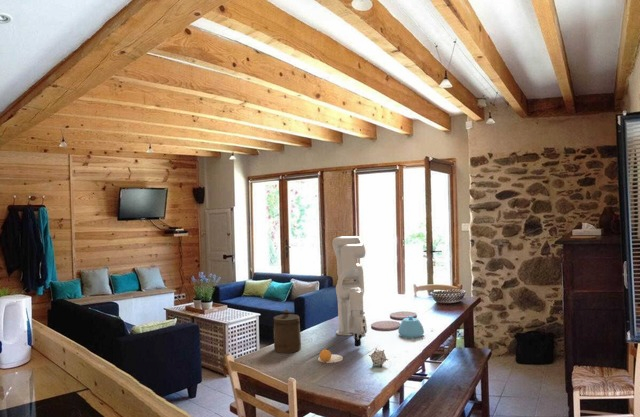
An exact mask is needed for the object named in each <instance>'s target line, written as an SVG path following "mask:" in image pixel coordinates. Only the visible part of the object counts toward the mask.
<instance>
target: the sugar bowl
mask: <svg viewBox="0 0 640 417" xmlns="http://www.w3.org/2000/svg"><path fill="white" fill-rule="evenodd" d="M424 333H425V330H424V326H423V325H422V322H421V321H420V320H419V318H416V317H414V315H408V316H407V317H404V318H403V319H402V321H400V323H399V326H398V334H399V336H400V337H402V338H405V339H406V338H407V339H418V338H422V336H423V335H424Z"/></svg>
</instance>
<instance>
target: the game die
mask: <svg viewBox="0 0 640 417" xmlns="http://www.w3.org/2000/svg"><path fill="white" fill-rule="evenodd" d="M368 357H370V358H371V361H372V366H374V365H376V366H379V367H380V368H382V365H384V363H386V361H389V359H388V358H387V357H386V353H385V349H383V350H381V349H378V348H375V350H374V351H373V352H372V353H371V354H368Z"/></svg>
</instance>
